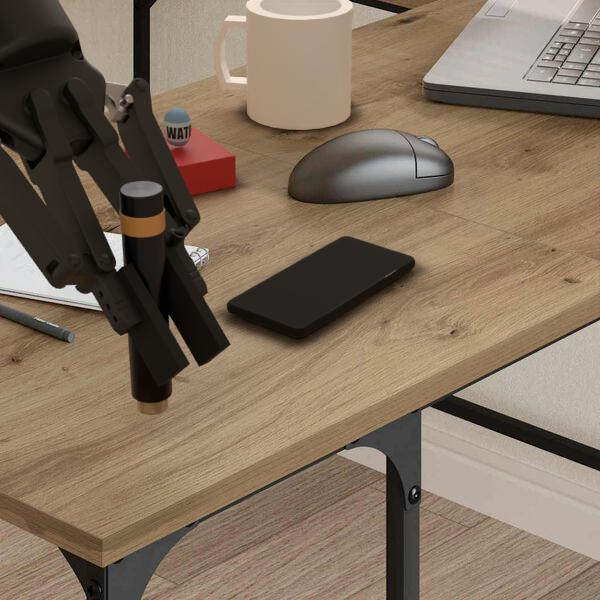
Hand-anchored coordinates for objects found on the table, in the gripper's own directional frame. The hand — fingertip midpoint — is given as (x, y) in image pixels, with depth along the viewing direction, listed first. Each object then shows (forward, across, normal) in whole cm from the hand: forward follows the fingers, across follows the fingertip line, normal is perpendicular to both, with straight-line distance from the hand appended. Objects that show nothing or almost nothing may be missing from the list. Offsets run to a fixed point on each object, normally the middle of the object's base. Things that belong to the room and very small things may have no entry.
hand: (194, 364), depth 79 cm
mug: (-23, -49, -34) cm, 64 cm away
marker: (0, 0, -6) cm, 6 cm away
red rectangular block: (-19, -30, -30) cm, 47 cm away
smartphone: (-3, -22, -13) cm, 26 cm away
